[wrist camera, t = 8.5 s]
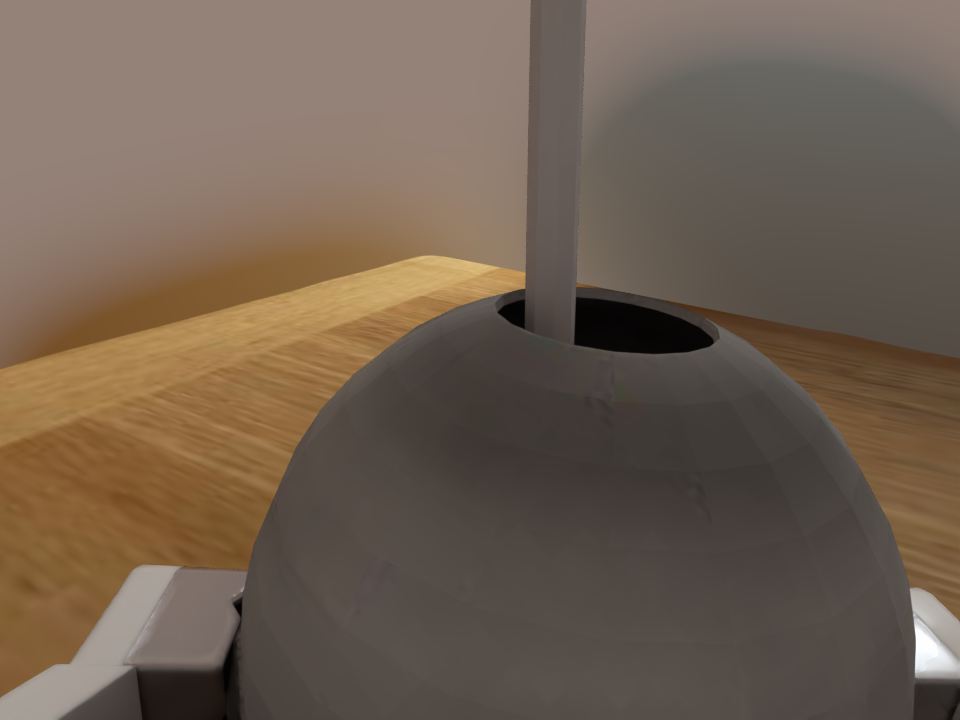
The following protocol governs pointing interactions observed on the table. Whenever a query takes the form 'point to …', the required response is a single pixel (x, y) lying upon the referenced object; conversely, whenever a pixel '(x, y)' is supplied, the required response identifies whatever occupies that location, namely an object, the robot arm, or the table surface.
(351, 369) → the table surface
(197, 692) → the robot arm
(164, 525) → the table surface
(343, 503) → the beverage cup
